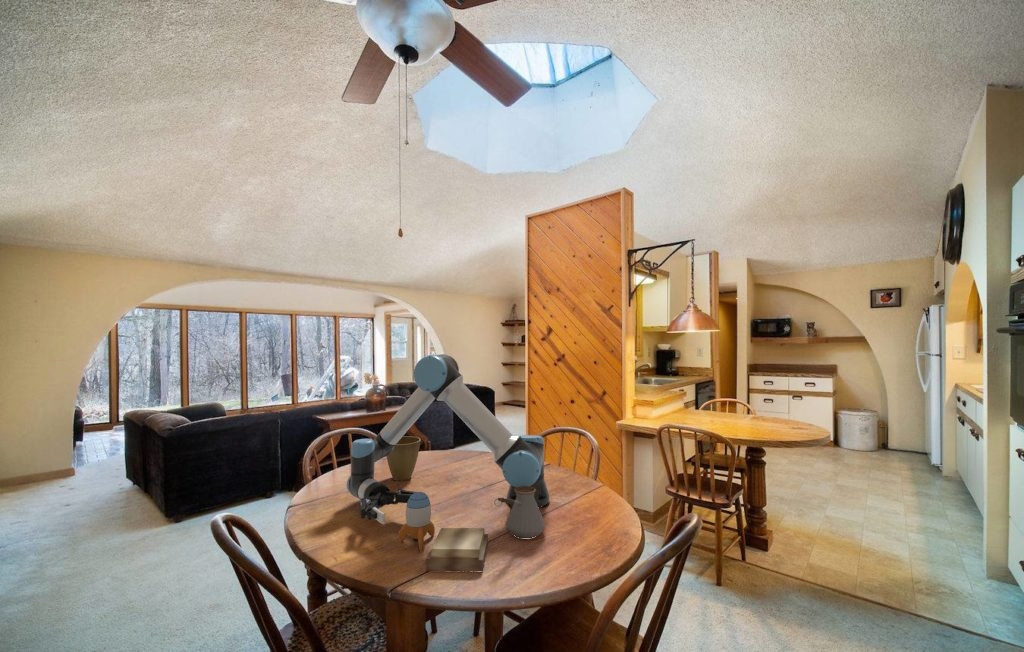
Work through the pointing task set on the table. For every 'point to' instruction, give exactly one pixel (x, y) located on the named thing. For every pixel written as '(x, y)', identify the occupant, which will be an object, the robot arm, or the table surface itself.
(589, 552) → the table surface
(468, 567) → the pad
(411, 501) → the toy rocket
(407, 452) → the plant pot
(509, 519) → the coffee pot
